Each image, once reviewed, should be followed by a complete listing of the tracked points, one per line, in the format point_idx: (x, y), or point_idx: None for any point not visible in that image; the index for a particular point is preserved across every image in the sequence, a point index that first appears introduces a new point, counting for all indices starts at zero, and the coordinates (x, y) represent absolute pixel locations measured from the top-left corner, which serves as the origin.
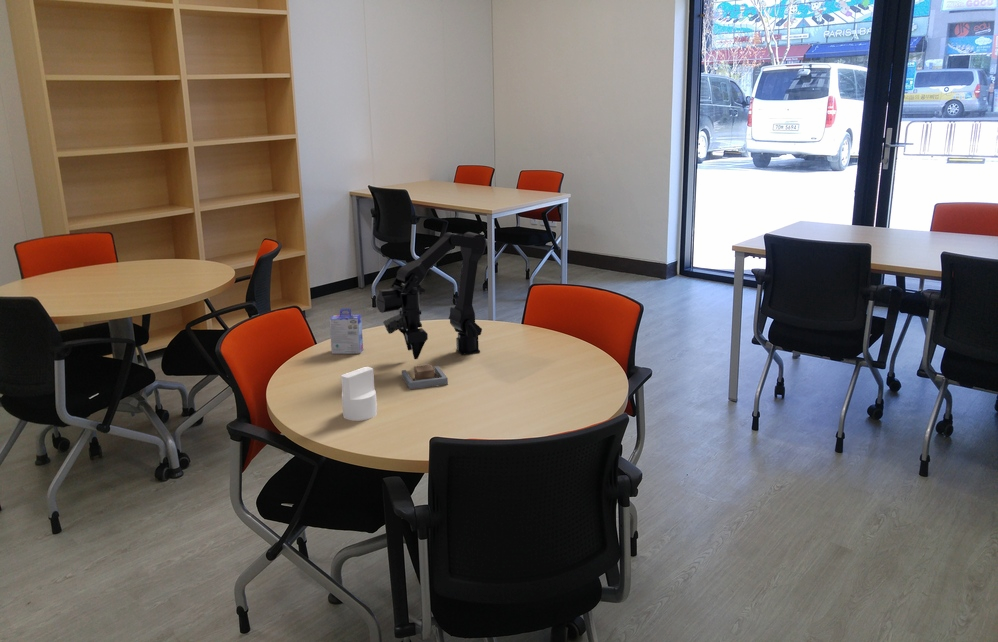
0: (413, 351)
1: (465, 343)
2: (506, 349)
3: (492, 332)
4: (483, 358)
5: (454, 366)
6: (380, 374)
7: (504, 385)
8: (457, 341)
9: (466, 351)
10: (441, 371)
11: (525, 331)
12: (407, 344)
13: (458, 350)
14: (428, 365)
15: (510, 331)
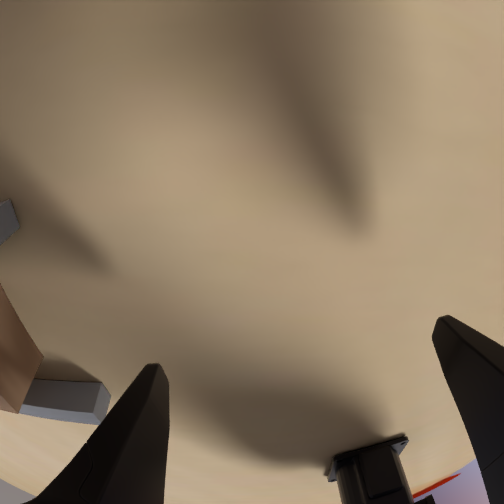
0: (96, 436)
1: (350, 494)
2: (324, 497)
3: (459, 454)
4: (268, 484)
5: (193, 443)
6: (74, 6)
7: (40, 463)
8: (382, 483)
9: (341, 468)
10: (31, 413)
11: (416, 486)
12: (471, 355)
13: (361, 456)
14: (1, 402)
15: (437, 473)
